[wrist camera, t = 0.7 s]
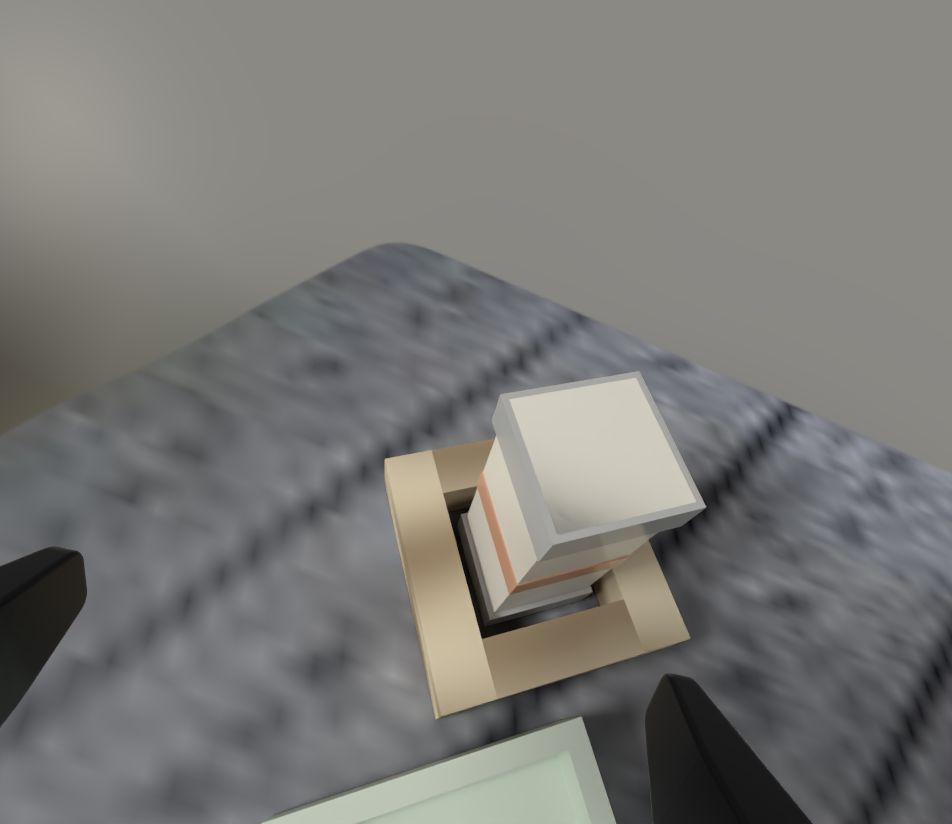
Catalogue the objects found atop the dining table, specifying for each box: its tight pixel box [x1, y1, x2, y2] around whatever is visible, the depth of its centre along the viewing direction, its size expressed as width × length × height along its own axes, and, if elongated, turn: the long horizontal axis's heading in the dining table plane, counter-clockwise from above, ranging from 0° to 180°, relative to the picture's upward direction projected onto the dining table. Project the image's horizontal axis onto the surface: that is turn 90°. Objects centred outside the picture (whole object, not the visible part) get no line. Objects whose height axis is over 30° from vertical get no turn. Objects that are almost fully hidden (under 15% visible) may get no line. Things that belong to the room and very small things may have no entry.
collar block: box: [385, 438, 691, 719], centre depth 24 cm, size 10×10×2 cm
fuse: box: [457, 371, 706, 627], centre depth 20 cm, size 4×4×11 cm
